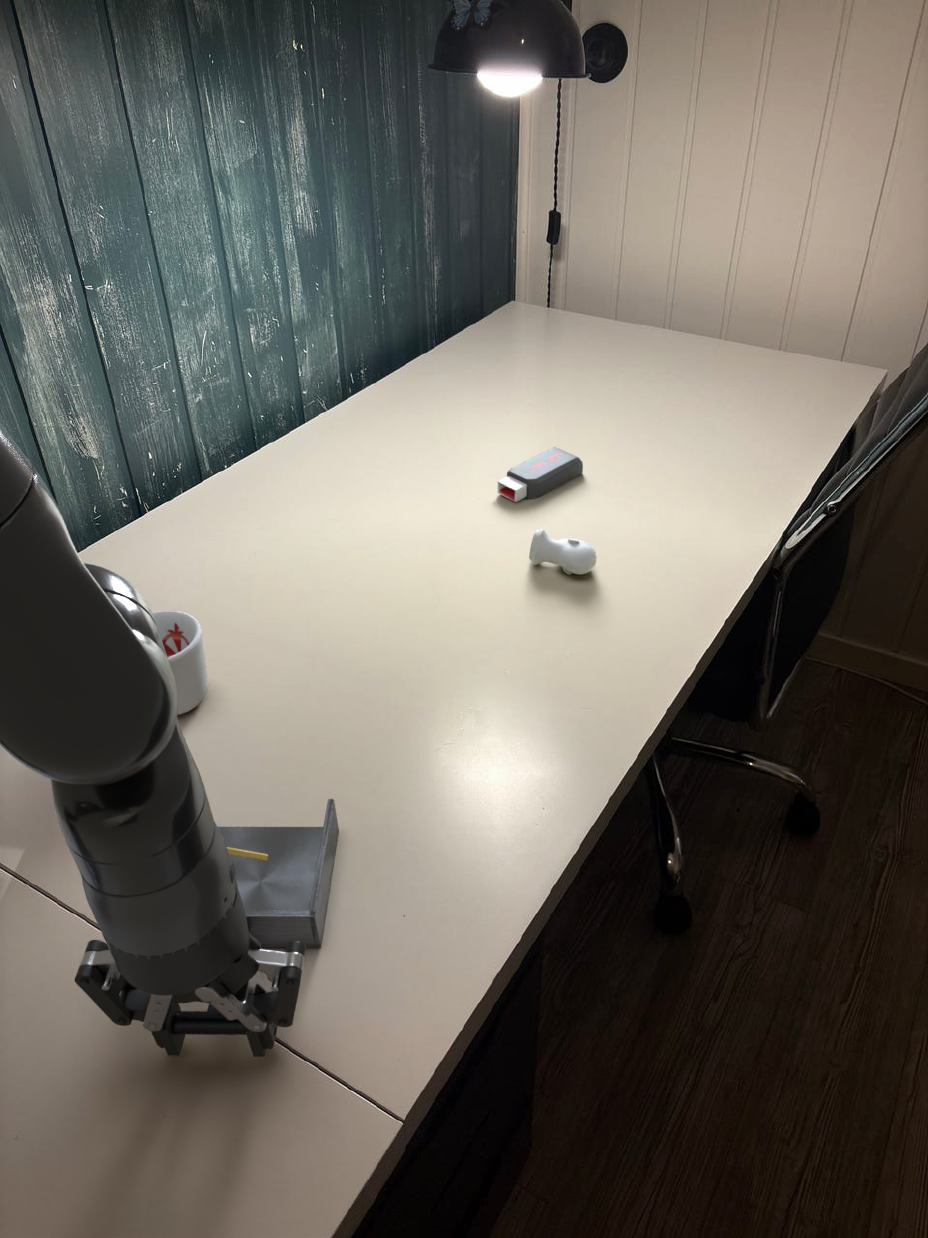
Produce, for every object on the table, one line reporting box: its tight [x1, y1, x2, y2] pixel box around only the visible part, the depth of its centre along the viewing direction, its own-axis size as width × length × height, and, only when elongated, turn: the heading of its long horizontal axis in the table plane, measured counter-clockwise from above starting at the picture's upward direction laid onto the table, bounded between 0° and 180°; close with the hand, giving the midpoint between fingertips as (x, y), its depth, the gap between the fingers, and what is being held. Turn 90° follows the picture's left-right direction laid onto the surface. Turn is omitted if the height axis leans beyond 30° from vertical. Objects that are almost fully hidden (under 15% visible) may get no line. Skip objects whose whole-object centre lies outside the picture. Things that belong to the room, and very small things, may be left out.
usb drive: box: [497, 446, 584, 503], centre depth 121 cm, size 5×12×3 cm, turn 134°
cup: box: [152, 609, 209, 716], centre depth 88 cm, size 11×8×8 cm
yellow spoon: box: [227, 847, 268, 861], centre depth 64 cm, size 6×2×1 cm
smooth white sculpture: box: [528, 528, 597, 575], centre depth 106 cm, size 4×8×5 cm
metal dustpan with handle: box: [172, 798, 340, 1036], centre depth 68 cm, size 11×20×5 cm, turn 179°
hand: (220, 1042), depth 61 cm, fingers closed on metal dustpan with handle, 5 cm apart
